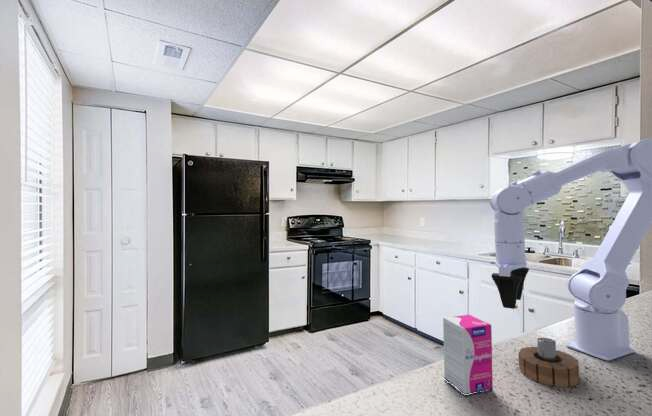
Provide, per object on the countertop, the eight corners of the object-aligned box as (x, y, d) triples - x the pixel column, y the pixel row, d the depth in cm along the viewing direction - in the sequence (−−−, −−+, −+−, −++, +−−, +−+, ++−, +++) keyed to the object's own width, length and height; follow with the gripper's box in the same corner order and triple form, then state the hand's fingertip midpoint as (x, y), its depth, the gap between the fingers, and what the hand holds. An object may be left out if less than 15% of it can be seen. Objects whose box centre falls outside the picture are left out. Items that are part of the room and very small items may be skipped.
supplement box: (465, 398, 54) (462, 328, 54) (443, 380, 59) (440, 317, 59) (495, 391, 55) (492, 323, 55) (470, 374, 61) (468, 313, 61)
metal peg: (545, 368, 62) (544, 336, 62) (560, 375, 59) (559, 341, 60) (535, 371, 61) (533, 339, 61) (550, 378, 58) (548, 344, 59)
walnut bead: (541, 358, 66) (540, 343, 66) (591, 379, 58) (590, 362, 58) (508, 367, 63) (508, 352, 63) (556, 391, 54) (555, 373, 54)
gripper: (496, 238, 81) (499, 293, 80) (481, 244, 69) (484, 309, 69) (530, 239, 76) (532, 297, 76) (520, 246, 65) (523, 314, 65)
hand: (512, 303), depth 72 cm, fingers open, 7 cm apart
